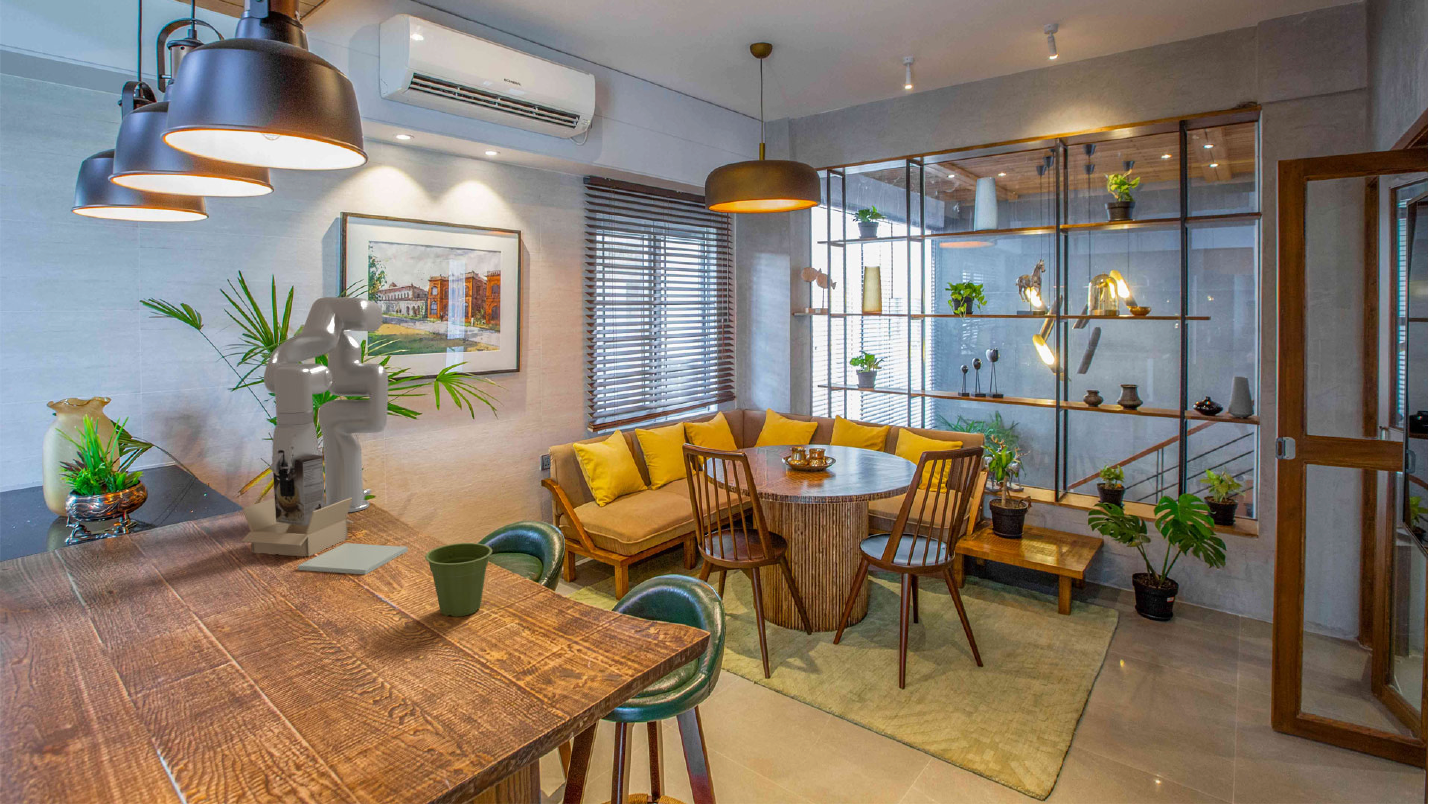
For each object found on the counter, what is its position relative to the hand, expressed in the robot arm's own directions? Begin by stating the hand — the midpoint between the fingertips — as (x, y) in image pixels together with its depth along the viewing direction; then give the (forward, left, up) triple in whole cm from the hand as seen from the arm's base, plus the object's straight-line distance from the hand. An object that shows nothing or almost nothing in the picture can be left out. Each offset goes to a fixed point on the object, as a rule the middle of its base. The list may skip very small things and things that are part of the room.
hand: (299, 491), depth 167 cm
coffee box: (0, 0, -8) cm, 8 cm away
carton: (0, 0, -13) cm, 13 cm away
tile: (+7, +19, -13) cm, 24 cm away
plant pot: (+29, +56, -14) cm, 65 cm away
